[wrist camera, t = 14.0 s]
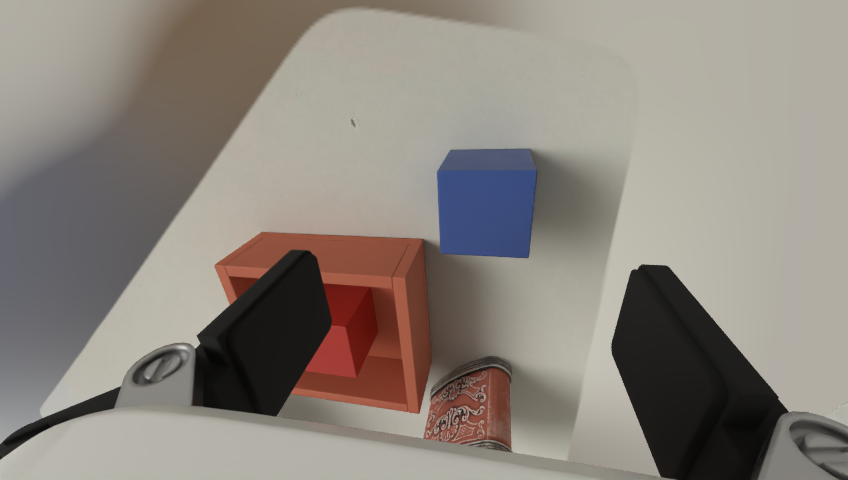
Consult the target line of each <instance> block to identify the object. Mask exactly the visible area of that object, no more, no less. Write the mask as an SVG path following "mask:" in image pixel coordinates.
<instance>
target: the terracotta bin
mask: <svg viewBox="0 0 848 480" xmlns="http://www.w3.org/2000/svg"><path fill="white" fill-rule="evenodd" d="M290 250H309V251H311V253H312V254H313V255H315V256H316V257H317V260H318V264H319V268H320V272H321V276H322V280H323V283H327V284H340V285H353V286H366V287H371V291H372V297H373V303H374V309H375V316H376V322H377V328H378V334H377V336H376V338H375V340H374V342H373V344H372V346H371V349H370V351H369V353H368V355H367V357H366V359H365V361H364V364H363V366H362V368H361V370H360V372H359V374H358V376H357V378H352V377H345V376H337V375H330V374H323V373H316V372H308V371H304V373H303V374H302V376H301V377H300V379H299V381H298V382H297V384H296V385H295V387H294V389H293V390H292V392H291V393H290V394H295V395H301V396H308V397H314V398H321V399H327V400H334V401H340V402H346V403H353V404H359V405H366V406H372V407H379V408H385V409H392V410H398V411H404V412H408V411H409V412H410V413H416V414H419V413H420V409H421V404H422V400H423V396H424V392H425V388H426V384H427V379H428V375H429V371H430V367H431V363H432V360H431V346H430V331H429V316H428V301H427V287H426V272H425V257H424V242H423V239H408V238H384V237H360V236H336V235H312V234H288V233H265V232H261V233H260V234H258V235H257V236H255V237H254V238H253V239H251V240H250V241H248V242H247V243H245V244H244V245H243V246H241V247H240V248H238V249H237V250H235V251H234V252H232V253H231V254H230V255H228V256H227V257H225V258H224V259H222V260H221V261H219V262H218V263H217V264H215V265H214V266H215V269H216V271H217V274H218V276H219V278H220V281H221V283H222V286H223V288H224V291H225V293H226V296H227V298H228V301H229V303H230V305H231V304H232V303H233V302H234V301H235V300H236V299H237V298H238V297H240V296H241V295H242V294H243V293H244V292H245V291H246V290H247V289H248V288H249V287H250V286H252V285H253V284H254V283H255V282H256V281H257V280H258V279H259V278H260V277H261V276H263V275H264V274H265V273H266V272H267V271H268V270H269V269H270V268H271V267H272V266H273V265H275V264H276V263H277V262H278V261H279V260H280V259H281V258H282V257H283V256H284V255H285V254H287V253H288V252H289V251H290Z"/></svg>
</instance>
